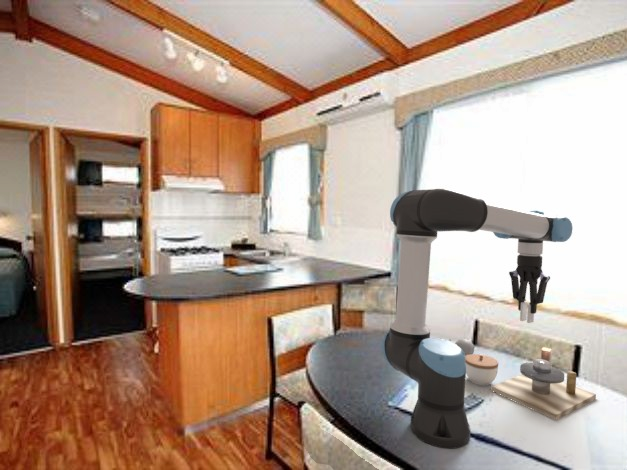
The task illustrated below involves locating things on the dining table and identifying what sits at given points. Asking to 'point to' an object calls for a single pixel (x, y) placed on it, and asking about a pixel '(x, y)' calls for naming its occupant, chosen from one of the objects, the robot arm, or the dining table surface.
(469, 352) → the round bodied animal figurine
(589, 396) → the flange base
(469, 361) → the lidded jar
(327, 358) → the dining table surface
